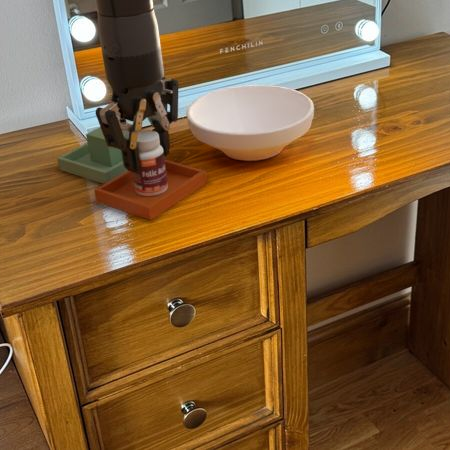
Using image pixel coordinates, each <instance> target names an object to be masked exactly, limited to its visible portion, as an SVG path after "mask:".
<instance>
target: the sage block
mask: <svg viewBox="0 0 450 450" xmlns="http://www.w3.org/2000/svg"><path fill="white" fill-rule="evenodd" d="M85 136H86V143H88V148H89V153H90V158H91V161H94V162H97V163H100V164H104V165H107V166H110V167H113V166H115V165H116V164H118V163H120V162H122V161H123V158H122V152H121V150H120V149H117V148H114V147H109V146H108V145H107V143H106V140H105V138H104V135H103V132H102V130H101V127H100V126H99V127H98V128H96V129H94V130H92V131H90V132H87V133H86V134H85ZM126 138H127V139H129V131H128V130H127V137H126Z"/></svg>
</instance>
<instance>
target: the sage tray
mask: <svg viewBox="0 0 450 450" xmlns="http://www.w3.org/2000/svg"><path fill="white" fill-rule="evenodd" d="M56 161H57V165H58V169H59V170H60V171H63V172H65V173H69V174H72V175H75V176H77V177H81V178H85V179H87V180H91V181H94V182H97V183H100V184H102V185H104V184H105V183H107V182H109V181H111V180H112V179H114V178H116V177H117V176H119V175H121V174H123V173H124V172H126V171H128V170H127V169H126V168H125V167H124V164H123V161H122V162H120V163H118V164H116V165H115V166H113V167H110V166H107V165H104V164H100V163H97V162H94V161H91V158H90V153H89V148H88V143H87V142H86V143H84V144H82V145H80V146H78V147H76V148H74V149H72V150H70V151H68V152H66V153H64V154H62V155H60V156H58V157H56Z"/></svg>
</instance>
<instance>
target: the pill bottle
mask: <svg viewBox="0 0 450 450" xmlns="http://www.w3.org/2000/svg"><path fill="white" fill-rule="evenodd" d="M136 147H138V151H139V158H140V164H141V171H139V172H138V173H134V172H132V175H133V181H134V187H135V191H136V193H137V194H139V195H141V196H155V195H159V194H162V193H164V192H165V191H166V190H167V188H168V182H167V174H166V166H165V160H166V158H165V156H164V150H163V148H162V146H161V145H160V140H159V134H158V133H157V132H155V131H152V129H151V130H150V129H144V130H142V129H141V131H140V132H139V133H138V137H137V145H136Z"/></svg>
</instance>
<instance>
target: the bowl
mask: <svg viewBox="0 0 450 450" xmlns="http://www.w3.org/2000/svg"><path fill="white" fill-rule="evenodd" d="M314 105H315V104H314V102H313V100H312V99H311V98H310V97H309V96H308V95H306V94H305V93H303V92H301V91H298V90H296V89H292V88H289V87H286V86H285V87H284V86H280V85H270V84H247V85H246V84H245V85H236V86H231V87H225V88H220V89H217V90H214V91H211V92H207V93H205V94H203V95H201V96H199V97H198V98H196V99H195V100H194V101H192V103H191V104H189V106H188V107H187V109H186V113H185V116H186V120H187V124H188V128H189V130H190V132H191V134H192V135H193V137H195V139H196V140H198V141H200V142H201V143H204V144H206V145H208V146H211V147H212V148H214V149H217V150H218V151H220V152H222V153H223V154H224V155H225V156H227V157H229V158H231V159H234V160H238V161H245V162H246V161H249V162H250V161H261V160H267V159H269V158H272V157H275V156H277V155H278V154H280V153H281V152H282V151H283V150H284V148H286V147H287V146H289V144H291V143H293V142H294V141H295V140H297V139H299V138H301V137H302V136H304V135H305V134H306V133H307V132H308V131H309V130H310V128H311V126H312V123H313V119H314V115H315V106H314Z"/></svg>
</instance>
